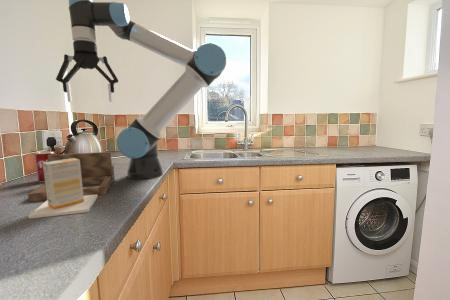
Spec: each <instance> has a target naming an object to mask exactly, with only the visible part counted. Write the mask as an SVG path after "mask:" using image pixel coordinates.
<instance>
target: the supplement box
mask: <svg viewBox="0 0 450 300" xmlns="http://www.w3.org/2000/svg"><path fill="white" fill-rule="evenodd" d="M43 168H44V176H45V184H46V192H47V200H48V206H50V207H51V208H53V209H56V208H60V207H64V206H67V205H71V204H75V203H79V202H83V201H84V196H83V188H84V187H83V186H84V185H82V177H81V167H80V160H79V159H75V158H71V159H64V160H56V161H49V162H43ZM47 200H46V201H47Z"/></svg>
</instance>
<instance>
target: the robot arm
mask: <svg viewBox="0 0 450 300" xmlns="http://www.w3.org/2000/svg"><path fill="white" fill-rule="evenodd" d="M68 11H69V18H70V25H71V27H70V28H71V36H72V40H73V41H72V42H73V43H72V44H73V45H72V47H73V55H68V54H67V53H65V54H64V55H63V62H62V64H61V66H60V68H59V71H58V73H57V75H56V77H55V81H57V82H58V83H59V82H60V83H62V89H63V92H64V93H66V95H67V102H69V103H72V102H73V97H72V90H71V89H72V88H71V83H69V81H71V80H72V78H73V77H74V76H75V75H76V73H77V72H78V71H79V70H81V69H83V70H93V69H96V70H97V72H98V73H99V74H100V75H101V76H102V77H103V78H105V80H106V81H107V82H109V83H107V87H108V89H107V90H108V98H109V99H108V100H109V102H113V97H112V93H114V94H115V87H114V85H115V84H118V83H119V79H118V77H117V75H116V74H115V73H114V72H115V71H114V70H113V69H112V67H111V65H110V64H109V62H108V57H107V56H105V55H104V56H103V57H99V56H98V46H97V44H96V43H97V38H96V36H97V34H96V27H108V28H109V29H111V31H112V32H113V33H114V35H116V37H118V38H120V39H122V40H123V41H124V40H125V41H126V40H127V41H129V42H131V43H134V44H136V45H138V46H140V47H142V48H144V49H146V50H149V51H151V52H153V53H155V54H157V55H160V56H161V57H163V58H166V59H167V60H169V61H172V62H174V63H175V64H179V65H180V66H182V67H185V71H184V72H183V73H182V75H181V76H179V77H178V78H177V80H176V81H175V82H174V83H173V84H172V85H171V86H170V88H168V89H167V91H166V92H165V93H164V94H163V95H162V96H161V97H160V98H159V99H158V100H157V101H156V102H155V104H153V105H152V107H151V108H150V109H149V110H148V111H147V112H146V113H145V115H143V116H142V117H136V118H135V119H134V120H133V121H132V122H131V123H129V125H128V127H125V128H123V129H122V130H121V131H120V132H119V133H118V135H117V137H116V146H117V149H118V151H119V152H120V153H121V155H123V156H124V157H125V158H128V159H130V161H129V165H128V168H127V173H126V174H127V177H128V178H129V179H135V180H136V179H137V180H138V179H139V180H143V179H145V180H146V179H152V178H157V177H160V176H162V175H163V174H164V173H163V166H162V165H161V162H160V159H159V155H158V153H159V152H158V141H159V140H160V139H161V135H162V134H161V132H162V131H163V130H164V129H165V128H166V127H167V126H168V125H169V124H170V122H171V121H172V120H173V119H174V118H175V117H176V116H177V115H178V113H180V112H181V110H183V108H184V107H185V106H186V105H187V104H188V103H189V102H190V101H191V100H192V99H193V98H194V96H196V94H197V93H198V92H199V91H200V90H201V89H202V88H208V87H209V86H210V85H211V84H212V83H213V82H214V81H215V79H217V78H219V77H220V76H221V74H222V73H223V71H224V70H225V68H226V66H227V56H226V53H225V51H224V50H223V48H222V47H221V46H220V45H219V44H217V43H214V42H205V43H202V44H201V45H200V46H198V47H197V48H196V49H190V48H189V47H186V46H184V45H182V44H180V43H178V42H176V41H174V40H171V39H170V38H168V37H165V36H164V35H161V34H159V33H157V32H155V31H153V30H150V29H148V28H147V27H145V26H143V25H140V24H138V23H136V22H134V21H132V20H130V14H129V10H128V7H127V5H126V4H125V3H123V2H116V1H111V2H110V1H109V2H108V1H106V2H103V1H102V2H101V1H100V2H99V1H97V2H96V1H93V0H68ZM95 26H96V27H95ZM72 61H74V62H75V64H74V65H73V67H72V68H71V69H70V70H69V71H68V73H66V72H67V70H68V67H69V65H70V63H72ZM99 62H101V63H102V64H104V65H105V68H106V69H107V71H108V72H109V74H110V75H111V77H112V78H110V76H109V75H107V73H106V72H105V71H104V70H103V69H102V68H101V67H100V66H99V65H98V64H99ZM65 74H66V75H65Z"/></svg>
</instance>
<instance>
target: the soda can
mask: <svg viewBox="0 0 450 300" xmlns="http://www.w3.org/2000/svg"><path fill="white" fill-rule="evenodd" d="M48 155H57V153H56V151H51V150H50V151H41V152H40V151H39V152H36V153H35V154H34V160H35V168H36V169H35V170H36V177H37V182H39V183H43V184H44V183H45V176H44V168H43V162H48Z"/></svg>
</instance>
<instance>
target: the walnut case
mask: <svg viewBox="0 0 450 300" xmlns="http://www.w3.org/2000/svg"><path fill="white" fill-rule="evenodd" d="M71 158H75V159H79V160H80V167H81V177H82V186H84V187H83V196H86V195H97V194H98V196H102V195H106V193H107V192H108V190H109V188H110V186H111V185H112V182H113V181H115V180H116V179H115V177H116V175H115V166H114V165H113V163H112V151H102V152H99V151H97V152H79V153H61V154H59V153H58V154H56V155H48V162H49V161H56V160H64V159H71ZM87 185H88V186H87ZM89 185H97V186H89ZM85 186H86V187H85ZM27 196H28V202H40V201H47V192H46V184H45V183H43V184H42V185H39V186H37V188H35V189H34V190H32V191H30V192H29V193H27Z"/></svg>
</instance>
